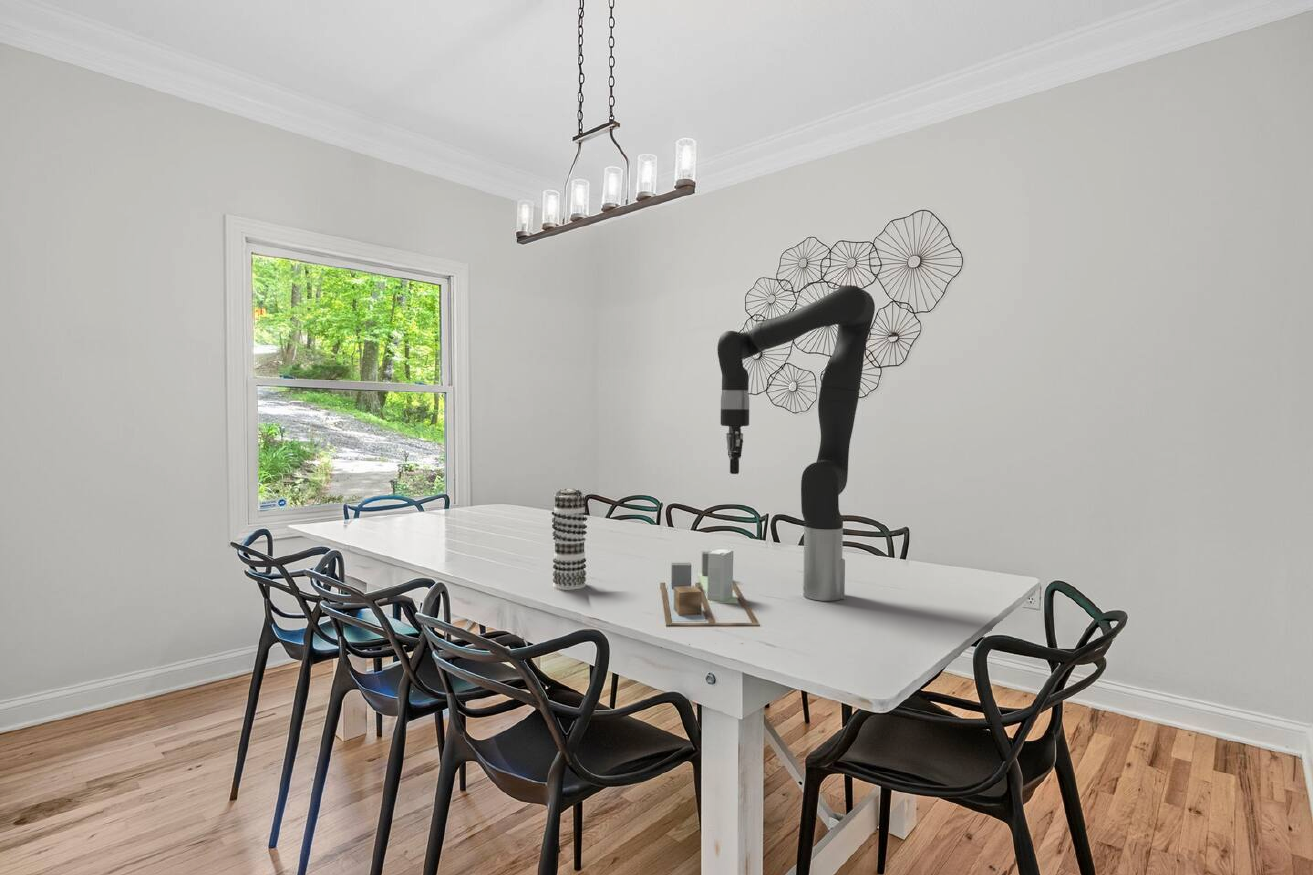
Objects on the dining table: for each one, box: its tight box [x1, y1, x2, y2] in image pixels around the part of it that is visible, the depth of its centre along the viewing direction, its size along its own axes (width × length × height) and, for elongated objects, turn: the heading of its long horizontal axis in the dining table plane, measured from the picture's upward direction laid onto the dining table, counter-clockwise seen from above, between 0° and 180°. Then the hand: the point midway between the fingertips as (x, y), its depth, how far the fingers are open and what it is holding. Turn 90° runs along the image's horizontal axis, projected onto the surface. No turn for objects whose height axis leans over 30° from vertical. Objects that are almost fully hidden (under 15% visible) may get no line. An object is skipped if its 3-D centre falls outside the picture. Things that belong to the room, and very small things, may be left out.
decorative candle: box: [551, 488, 589, 591], centre depth 176 cm, size 9×9×25 cm
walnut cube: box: [674, 585, 703, 616], centre depth 149 cm, size 5×5×5 cm
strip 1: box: [666, 562, 707, 623], centre depth 157 cm, size 7×30×7 cm, turn 2°
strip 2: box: [697, 551, 740, 604], centre depth 171 cm, size 7×30×7 cm, turn 2°
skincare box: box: [706, 548, 734, 602], centre depth 160 cm, size 6×4×12 cm
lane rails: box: [659, 582, 761, 628], centre depth 156 cm, size 19×35×2 cm, turn 2°
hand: (734, 473), depth 179 cm, fingers closed
